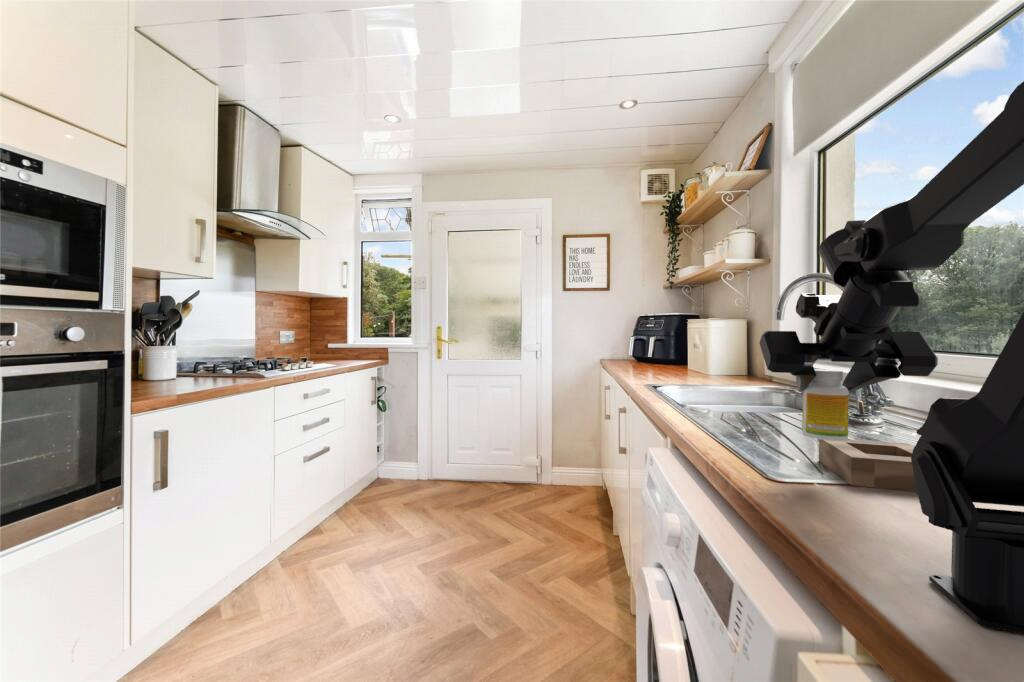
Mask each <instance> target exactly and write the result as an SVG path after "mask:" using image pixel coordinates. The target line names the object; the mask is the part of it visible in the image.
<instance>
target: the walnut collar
mask: <svg viewBox="0 0 1024 682" xmlns="http://www.w3.org/2000/svg"><path fill="white" fill-rule="evenodd" d="M818 440H819V441H818V443H819V444H818V462H819V463H821V464H822V465H823V466H825V467H826V468H827V469H829V470H830V471H831V472H833V473H834V474H835V475H837V476H838V477H840V479H842V478H843V479H845V480H846V481H847V482H848V483H847V482H846V481H845V480H844V481H845V482H846V483H847V484H849V485H851V486H854V487H856V486H857V487H864V488H865V487H866V488H876V489H884V490H885V489H886V490H898V491H906V492H908V491H909V492H917V487H916V482H915V477H914V472H913V466H912V461H911V456H912V452H913V449H914V447H915V446H916V445H912V444H910V443H907V442H905V443H904V442H895V441H894V442H892V441H877V440H863V439H861V440H860V439H847V440H843V441H830V440H821V439H818ZM843 479H842V480H843ZM917 493H918V492H917Z"/></svg>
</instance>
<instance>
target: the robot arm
mask: <svg viewBox="0 0 1024 682" xmlns="http://www.w3.org/2000/svg"><path fill="white" fill-rule="evenodd" d="M1022 186H1024V80H1023V81H1022V82H1021V83H1019V84H1018V85H1017V86H1016V87H1015V88H1014V90H1013V91H1012V92H1011V94H1010V95H1009V96H1008V99H1007V101H1006V102H1005V105H1004V107H1003V110H1002V111H1001V112H1000V113H999V114H998V115H997V116H995V118H993V120H992V121H991V122H990V123H989V124H987V126H985V127H984V129H982V130H981V132H979V133H978V135H976V136H975V137H974V138H973V139H972V140H971V141H970V142H969V143H968V144H967V145H966V146H965V147H964V148H963V149H961V150H960V152H959V153H958V154H957V155H956V156H954V157H953V159H951V160H950V161H949V162H948V163H947V164H946V165H945V166H944V167H943V168H941V170H940V171H939V172H937V174H936V175H935V176H934V177H932V179H931V180H929V181H928V182H927V184H926V185H924V186H923V187H922V188H921V189H920V190H919V191H918V192H917V193H916V194H914V195H913V196H912V197H909V198H908V199H905V200H903V201H900V202H897V203H895V204H892V205H890V206H887V207H884V208H882V209H880V211H878V212H877V213H875V214H874V215H872V216H871V217H870V218H869V219H867V220H865V219H864V220H863V219H861V220H858V219H857V220H847V221H846V224H845V225H844V228H841V229H838V230H836V231H834V232H833V233H831V234H829V235H828V236H827V237H826V238H825V239H824V240H823V241H822V242H821V243H820V245H819V247H818V254H819V256H820V258H821V260H822V262H823V263H824V266H825V267H826V269H827V271H828V273H829V275H830V277H831V279H832V280H833V282H834V284H836V285H838V286H840V287H843V290H842V293H841V294H816V293H815V292H803V293H801V292H800V295H799V297H798V298H797V301H796V305H795V312H796V314H797V315H798V316H799V317H800V318H801V319H811V320H812V321H813V322H814V323H815V325H814V327H813V332H814V334H815V335H816V336H820V339H817V340H815V342H801V341H800V338H799V336H798V334H797V331H796V330H766V331H764V333H762V334H761V336H760V339H759V346H760V349H761V353H762V357H763V359H764V363H765V367H766V370H768V371H769V372H770V373H771V372H772V373H778V374H779V373H783V374H784V373H785V374H787V373H788V374H790V375H792V376H794V377H795V380H796V381H795V382H796V388H797V391H798V393H803V391H804V390H805V389H806V388H807V387H808V385H809V384H810V383H811V382H812V380H813V379H814V378H815V376H816V372H815V370H814V369H815V368H814V367H815V366H814V365H815V364H816V361H829V362H830V361H831V362H835V363H838V362H840V363H841V362H842V363H853V365H852V366H851V368H850V370H849V371H848V373H847V375H846V376H845V378H843V381H842V383H841V385H842V386H845V387H846V388H847V389H848V391H849V393H852V392H855V391H857V390H861V389H863V388H865V387H868V386H871V385H874V384H875V385H876V384H879V383H882V382H885V381H888V380H893V379H894V380H896V379H899V378H900V377H901V375H903V377H905V376H906V377H907V376H908V377H929V376H930V375H931V373H932V372H933V371H934V370H935V369H936V368H937V366H939V365H938V364H939V363H938V361H939V360H938V359H939V358H938V356H937V355H936V353H935V352H934V351H933V349H932V348H931V346H930V344H929V343H928V342H927V339H926V338H925V337H924V336H923V334H922V333H921V332H920V331H893V330H892V328H891V327H890V325H891V323H892V322H893V320H894V318H895V317H896V315H897V314H898V312H899V311H900V309H901V308H911V307H912V308H913V307H914V308H916V307H918V306H920V296H919V294H918V293H917V291H916V290H915V288H914V282H913V281H912V280H911V279H910V278H909V277H908V276H907V274H906V273H905V272H906V271H909V272H910V271H931V270H936V269H938V268H939V267H941V266H942V265H943V264H945V262H946V261H948V260H949V259H950V257H952V256H953V255H954V254H955V253H956V252H957V251H958V250H959V249H960V248H962V246H963V245H964V243H965V241H964V240H965V239H964V238H965V232H964V231H965V230H966V229H967V228H968V227H969V226H970V225H971V224H972V223H973V222H974V221H976V220H977V219H978V218H980V217H981V216H983V215H984V214H986V213H987V212H988V211H990V210H991V209H992V208H994V207H995V206H996V205H997V204H999V203H1001V202H1002V201H1003V200H1005V199H1006V198H1008V197H1009V196H1010V195H1011V194H1013V193H1014V192H1015V191H1017V190H1018V189H1020V188H1021V187H1022ZM903 271H905V272H903ZM899 363H900V364H899ZM916 434H917V435H918V436H919V438H918V440H917V441H916V445H914V446H915V447H914V449H913V452H912V456H911V461H912V466H913V472H914V477H915V482H916V487H917V497H918V502H919V504H920V508H921V509H920V510H921V512H922V514H923V515H925V516H927V517H928V523H929V524H931V525H932V526H935V527H938V528H941V529H945V530H948V531H949V530H950V531H952V533H951V534H952V535H951V536H952V537H951V565H950V566H951V567H950V568H951V569H950V572H951V576H950V575H941V574H936V573H929V574H928V581H929V582H931V584H933V585H934V586H935V587H936V588H938V589H939V591H941V592H942V593H943V594H944V595H946V597H948V598H949V599H950V600H951V601H952V602H953V603H954V604H956V605H957V606H958V607H959V608H960V609H961V610H963V612H964V613H966V614H967V615H968V616H969V617H971V619H972V620H974V621H975V622H977V624H979V625H981V626H983V627H985V628H990V629H995V630H1002V631H1006V632H1013V633H1018V634H1019V633H1020V634H1024V511H1018V510H1008V509H996V508H995V509H994V508H985V507H984V508H982V507H976V506H975V503H977V504H986V505H988V504H989V505H998V506H999V505H1000V506H1010V507H1011V506H1013V507H1024V311H1023V313H1022V314H1021V316H1020V318H1019V319H1018V322H1017V323H1016V324H1015V327H1014V329H1013V331H1012V332H1011V333H1010V335H1009V337H1008V339H1007V341H1006V342H1005V345H1004V346H1003V349H1002V350H1001V352H1000V354H999V356H998V357H997V359H996V360H995V362H994V364H993V366H992V368H991V370H990V371H989V373H988V375H987V376H986V379H985V380H984V382H983V384H982V386H981V388H980V390H979V391H978V392H977V394H976V395H973V396H972V397H970V398H957V397H956V398H955V397H952V398H951V397H938V398H937V399H936V400H935V401H934V402H933V403H932V404H931V405H930V408H929V410H928V414H927V417H926V420H925V421H924V422H923V424H922V425H921V427H920V428H918V429H917V430H916Z"/></svg>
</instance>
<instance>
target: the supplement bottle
mask: <svg viewBox="0 0 1024 682" xmlns="http://www.w3.org/2000/svg"><path fill="white" fill-rule="evenodd" d="M814 370H815V372H816V376H815V378H814V379H813V380H812V382H811V383H810V384H809V385H808V387H807V388H806V389H805V390H804V391H803V392H802V412H801V413H802V414H801V415H802V416H801V417H802V419H801V420H802V421H801V422H802V423H801V425H802V426H801V429H802V434H803V436H806V437H808V438H811V439H812V438H813V439H817V440H819V439H821V440H830V441H843V440H847V439H848V438H849V404H850V403H849V401H850V399H849V397H850V394H849V391H848V389H847V388H846V387H845V386H842V383H841V382H843V381H844V371H843V370H837V369H819V368H814Z"/></svg>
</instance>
